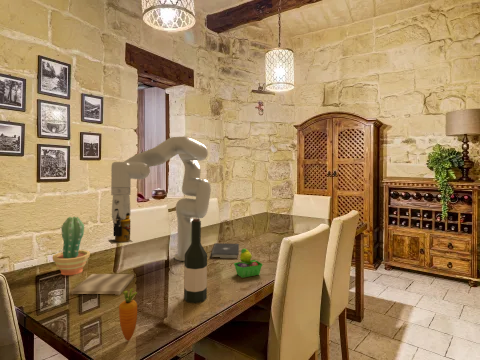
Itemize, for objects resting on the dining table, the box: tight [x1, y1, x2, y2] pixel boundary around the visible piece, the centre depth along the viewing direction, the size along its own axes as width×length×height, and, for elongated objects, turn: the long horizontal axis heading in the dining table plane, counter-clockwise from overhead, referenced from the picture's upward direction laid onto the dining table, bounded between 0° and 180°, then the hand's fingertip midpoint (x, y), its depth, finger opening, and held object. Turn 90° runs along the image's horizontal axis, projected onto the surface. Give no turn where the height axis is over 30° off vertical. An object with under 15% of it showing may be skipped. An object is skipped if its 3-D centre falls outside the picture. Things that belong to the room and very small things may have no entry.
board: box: [70, 273, 135, 296], centre depth 128 cm, size 18×18×2 cm
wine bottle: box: [183, 218, 208, 304], centre depth 117 cm, size 8×8×30 cm
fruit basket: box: [233, 248, 263, 278], centre depth 144 cm, size 11×9×11 cm
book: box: [210, 242, 240, 259], centre depth 178 cm, size 22×15×3 cm
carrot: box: [118, 287, 138, 342], centre depth 89 cm, size 5×5×15 cm
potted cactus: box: [51, 216, 91, 276], centre depth 143 cm, size 15×15×25 cm
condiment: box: [107, 213, 133, 245], centre depth 132 cm, size 7×8×12 cm
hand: (120, 233), depth 132 cm, fingers closed on condiment, 6 cm apart
